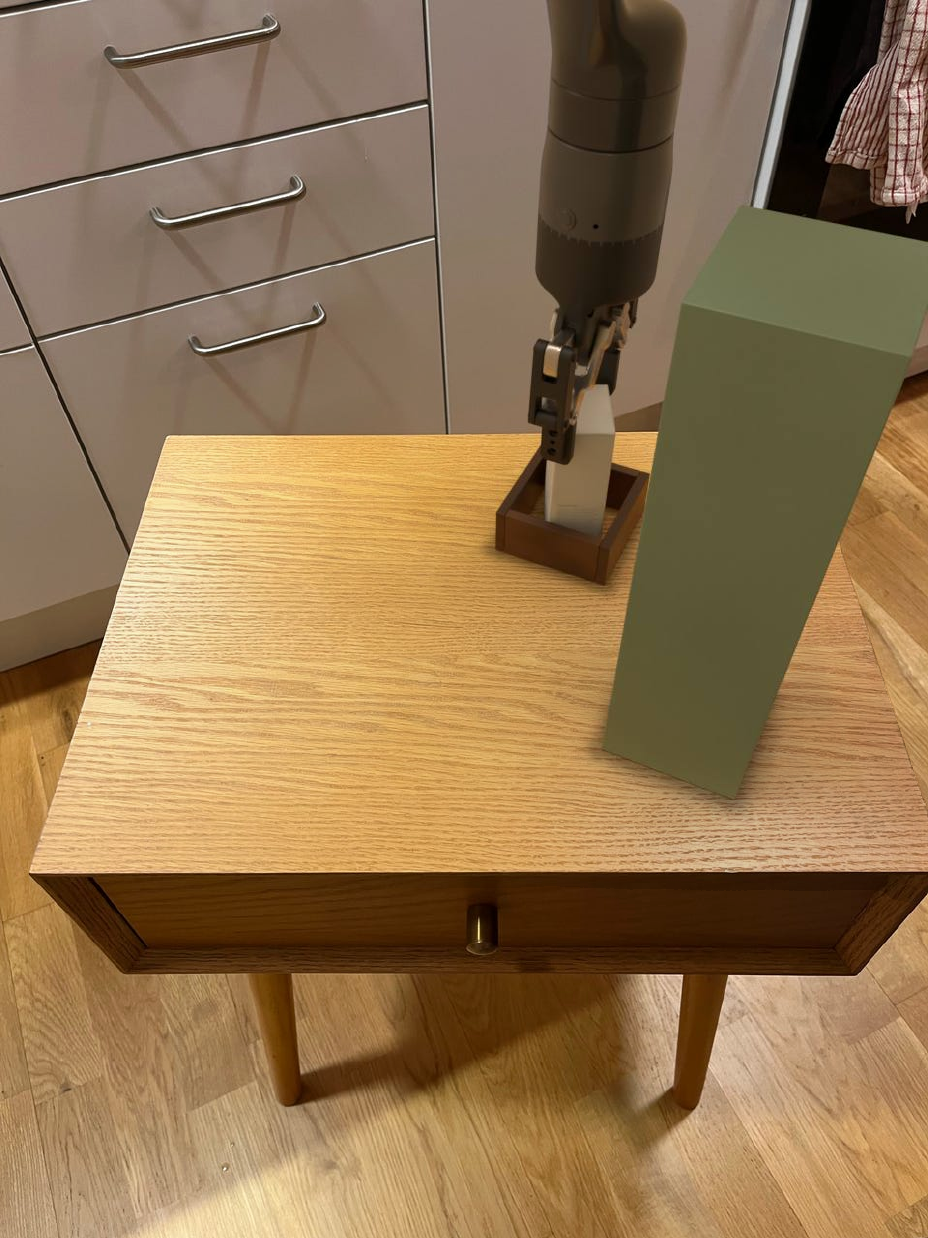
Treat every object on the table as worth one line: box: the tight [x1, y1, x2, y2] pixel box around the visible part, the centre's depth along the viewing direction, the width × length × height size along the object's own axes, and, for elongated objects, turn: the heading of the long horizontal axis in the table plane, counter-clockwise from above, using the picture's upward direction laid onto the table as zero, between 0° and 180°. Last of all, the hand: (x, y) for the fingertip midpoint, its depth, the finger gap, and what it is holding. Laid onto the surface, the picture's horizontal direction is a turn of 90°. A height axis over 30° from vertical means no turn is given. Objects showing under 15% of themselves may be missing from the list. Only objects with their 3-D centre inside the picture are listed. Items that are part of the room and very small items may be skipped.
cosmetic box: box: [543, 384, 616, 538], centre depth 73 cm, size 6×4×12 cm
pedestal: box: [601, 204, 928, 800], centre depth 52 cm, size 9×9×33 cm
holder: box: [494, 444, 651, 586], centre depth 76 cm, size 9×9×4 cm
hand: (578, 424), depth 69 cm, fingers open, 8 cm apart
